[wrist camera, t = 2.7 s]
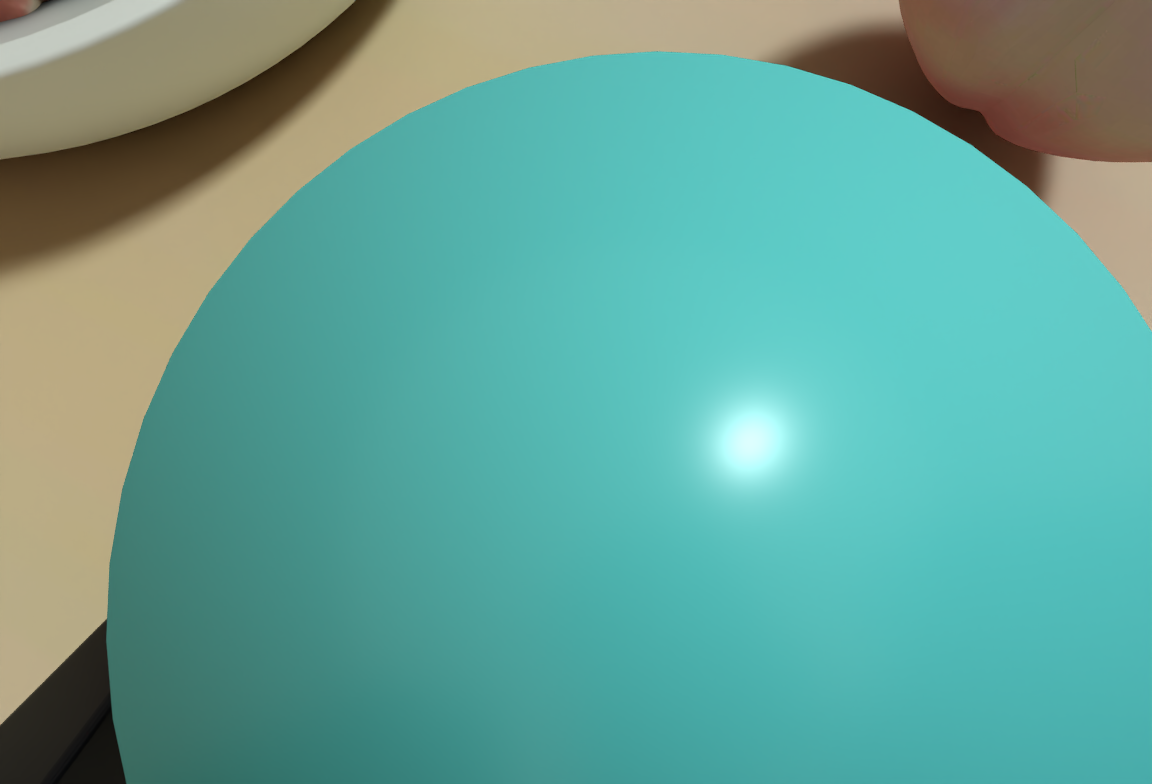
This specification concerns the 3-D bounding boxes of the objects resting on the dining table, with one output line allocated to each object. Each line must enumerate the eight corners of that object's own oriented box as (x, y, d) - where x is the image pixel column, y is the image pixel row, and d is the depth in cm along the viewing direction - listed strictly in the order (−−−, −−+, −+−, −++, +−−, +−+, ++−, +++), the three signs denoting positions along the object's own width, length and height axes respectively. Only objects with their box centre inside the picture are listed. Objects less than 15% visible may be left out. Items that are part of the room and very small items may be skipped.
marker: (706, 484, 15) (1475, 559, 2) (594, 602, 15) (692, 1578, 2) (592, 373, 15) (652, -128, 3) (480, 485, 15) (-121, 562, 2)
